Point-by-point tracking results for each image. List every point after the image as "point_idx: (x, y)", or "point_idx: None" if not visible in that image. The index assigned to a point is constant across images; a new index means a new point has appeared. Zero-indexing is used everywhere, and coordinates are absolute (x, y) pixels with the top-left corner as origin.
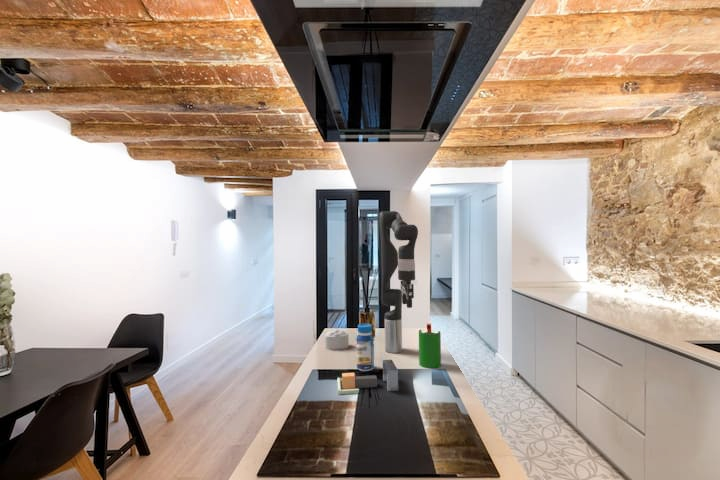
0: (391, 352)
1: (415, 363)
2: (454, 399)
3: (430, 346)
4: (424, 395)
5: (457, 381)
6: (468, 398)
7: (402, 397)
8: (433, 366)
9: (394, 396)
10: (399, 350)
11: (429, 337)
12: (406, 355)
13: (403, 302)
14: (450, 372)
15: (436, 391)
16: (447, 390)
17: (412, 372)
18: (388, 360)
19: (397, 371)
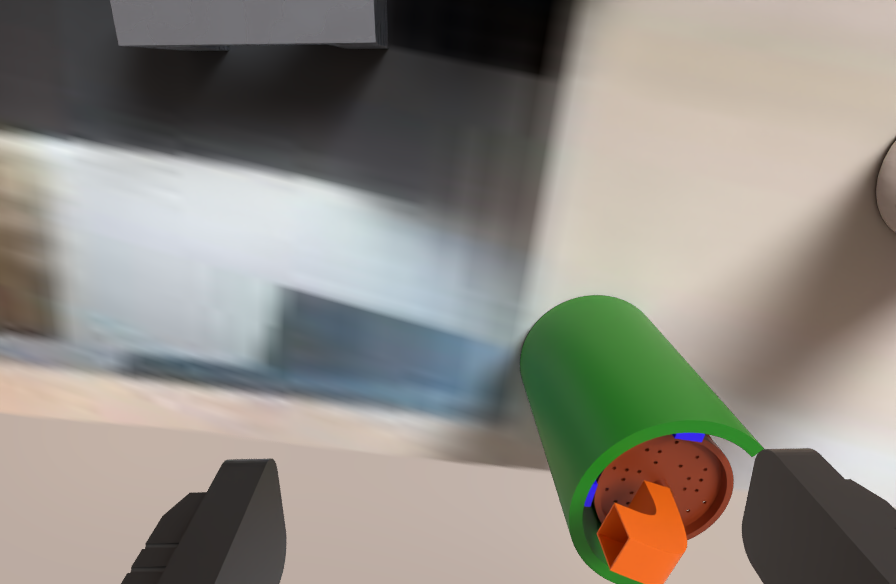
0: (893, 145)
1: (627, 274)
2: (94, 343)
3: (550, 425)
4: (130, 202)
5: (316, 427)
6: (112, 409)
7: (92, 59)
8: (521, 367)
9: (102, 7)
10: (890, 215)
11: (569, 466)
12: (799, 250)
13: (779, 489)
14: (443, 432)
15: (186, 283)
16: (201, 343)
17: (474, 216)
18: (356, 4)
19: (123, 42)
